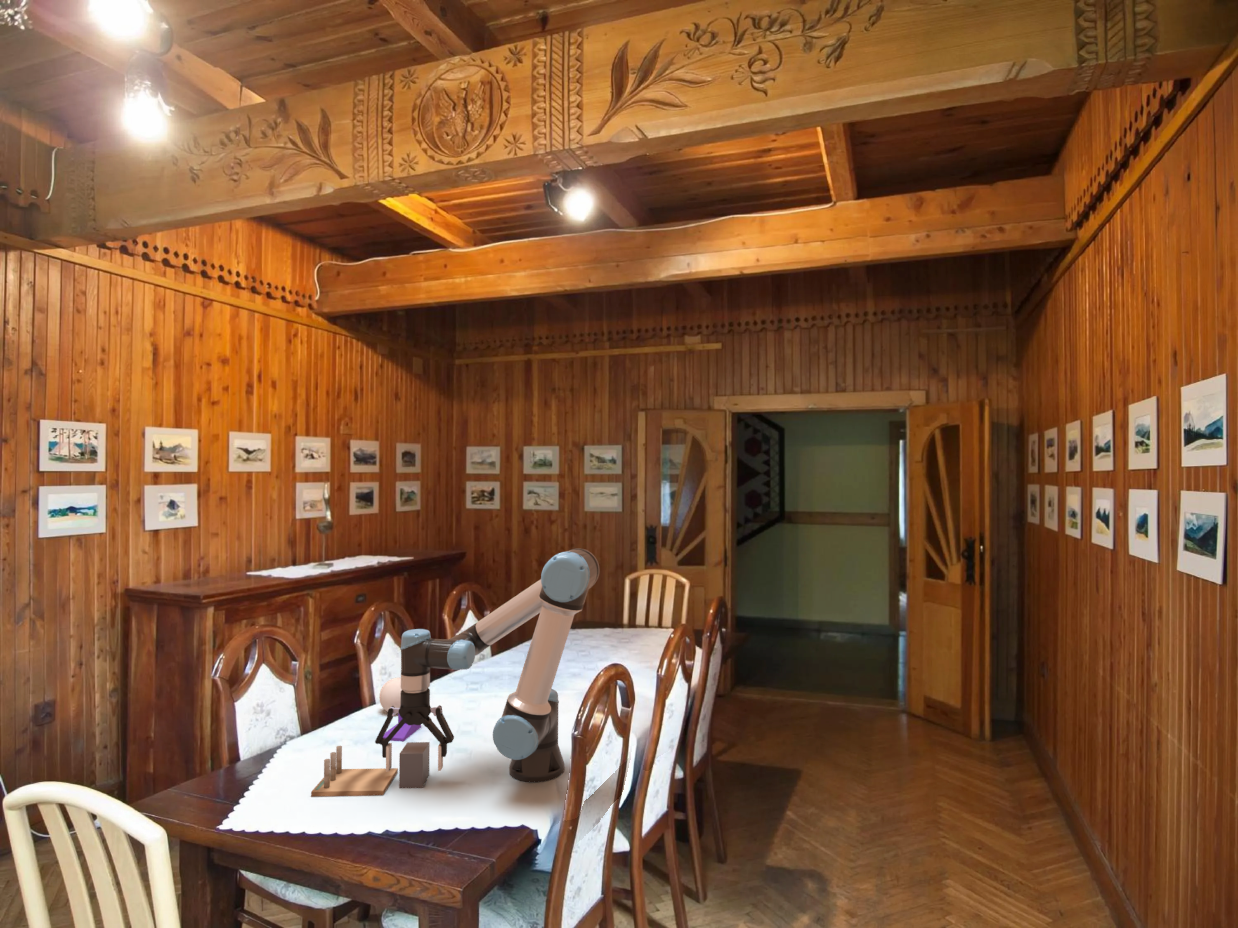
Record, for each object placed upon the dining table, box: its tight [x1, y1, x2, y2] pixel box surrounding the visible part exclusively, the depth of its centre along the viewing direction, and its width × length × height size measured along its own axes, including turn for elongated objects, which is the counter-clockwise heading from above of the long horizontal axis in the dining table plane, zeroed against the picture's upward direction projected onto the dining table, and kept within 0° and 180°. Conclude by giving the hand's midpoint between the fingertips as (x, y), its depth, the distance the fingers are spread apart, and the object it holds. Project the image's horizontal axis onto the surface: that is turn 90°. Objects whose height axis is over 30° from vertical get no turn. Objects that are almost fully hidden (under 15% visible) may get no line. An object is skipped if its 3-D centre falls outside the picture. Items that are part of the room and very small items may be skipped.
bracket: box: [383, 713, 422, 742], centre depth 225 cm, size 12×7×7 cm, turn 170°
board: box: [310, 745, 399, 798], centre depth 189 cm, size 18×14×8 cm
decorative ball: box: [379, 677, 402, 715], centre depth 246 cm, size 12×12×12 cm
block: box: [398, 741, 431, 789], centre depth 191 cm, size 6×8×9 cm
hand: (414, 769), depth 191 cm, fingers open, 13 cm apart
